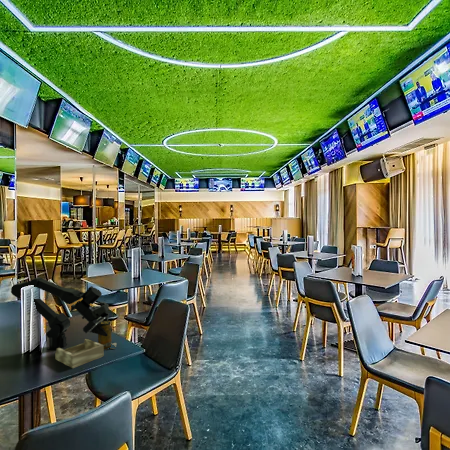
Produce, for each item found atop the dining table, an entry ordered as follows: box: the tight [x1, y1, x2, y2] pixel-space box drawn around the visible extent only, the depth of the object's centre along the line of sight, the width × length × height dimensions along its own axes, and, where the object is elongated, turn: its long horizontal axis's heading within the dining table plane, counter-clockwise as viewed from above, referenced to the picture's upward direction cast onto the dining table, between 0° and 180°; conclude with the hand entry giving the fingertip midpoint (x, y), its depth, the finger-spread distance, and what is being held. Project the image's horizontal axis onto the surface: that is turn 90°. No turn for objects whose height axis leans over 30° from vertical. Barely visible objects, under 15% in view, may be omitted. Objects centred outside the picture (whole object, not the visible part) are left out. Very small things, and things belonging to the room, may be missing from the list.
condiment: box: [97, 320, 117, 351], centre depth 148 cm, size 7×8×12 cm
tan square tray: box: [54, 338, 105, 369], centre depth 136 cm, size 15×14×5 cm
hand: (109, 333), depth 148 cm, fingers closed on condiment, 6 cm apart
